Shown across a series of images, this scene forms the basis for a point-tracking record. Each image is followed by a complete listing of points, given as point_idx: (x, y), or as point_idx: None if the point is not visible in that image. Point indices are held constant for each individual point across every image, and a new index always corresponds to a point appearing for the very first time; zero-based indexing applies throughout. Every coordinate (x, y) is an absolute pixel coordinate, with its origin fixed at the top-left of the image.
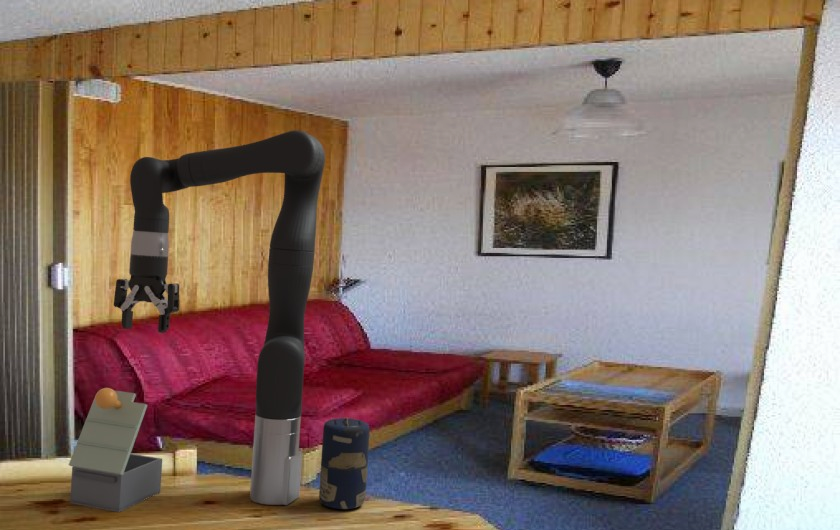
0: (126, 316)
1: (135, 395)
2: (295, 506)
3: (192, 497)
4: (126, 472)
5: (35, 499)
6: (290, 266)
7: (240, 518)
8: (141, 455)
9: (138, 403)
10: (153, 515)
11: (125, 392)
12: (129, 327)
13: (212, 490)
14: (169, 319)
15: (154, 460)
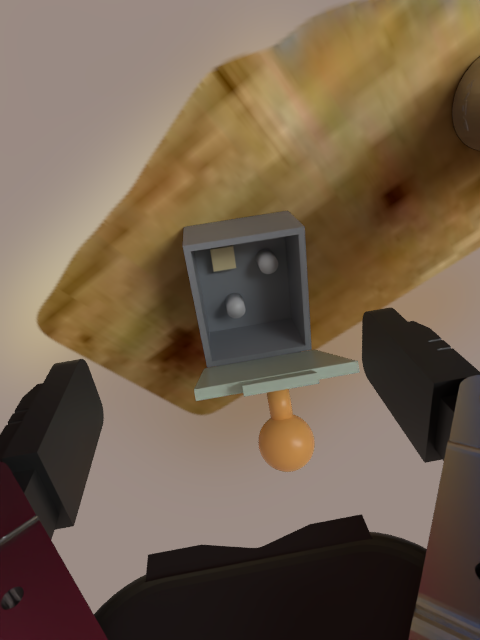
0: (84, 486)
1: (316, 372)
2: None
3: (353, 194)
4: (308, 335)
5: (148, 352)
6: None
7: (475, 231)
8: (251, 236)
9: (337, 375)
10: (347, 299)
11: (289, 388)
12: (89, 383)
13: (365, 133)
14: (467, 362)
15: (299, 248)
